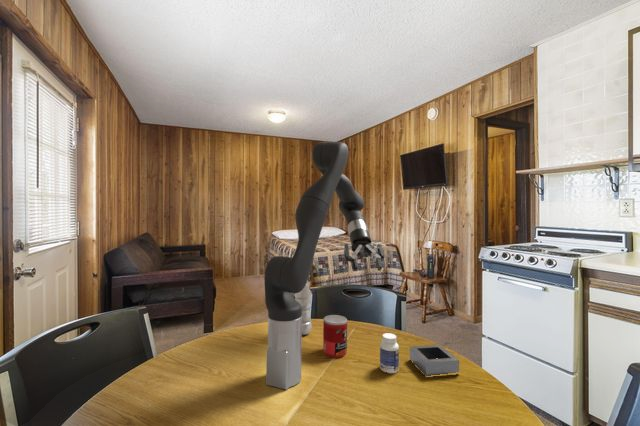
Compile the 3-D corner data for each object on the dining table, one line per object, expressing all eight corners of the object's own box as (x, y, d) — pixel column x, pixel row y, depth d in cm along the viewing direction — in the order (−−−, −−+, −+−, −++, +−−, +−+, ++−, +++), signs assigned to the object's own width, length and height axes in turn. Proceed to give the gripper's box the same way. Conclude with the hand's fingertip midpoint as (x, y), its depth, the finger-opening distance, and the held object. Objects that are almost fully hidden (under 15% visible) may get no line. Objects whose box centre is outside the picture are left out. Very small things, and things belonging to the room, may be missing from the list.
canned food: (338, 360, 91) (339, 325, 91) (318, 353, 96) (318, 319, 96) (351, 351, 98) (351, 318, 98) (331, 345, 102) (332, 313, 102)
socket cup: (459, 376, 84) (459, 360, 84) (426, 378, 82) (426, 362, 82) (439, 358, 94) (439, 344, 94) (409, 361, 92) (409, 346, 92)
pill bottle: (399, 375, 84) (399, 340, 84) (379, 372, 85) (380, 338, 85) (398, 365, 89) (398, 333, 89) (379, 363, 90) (380, 331, 90)
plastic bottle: (290, 334, 110) (291, 281, 111) (300, 328, 116) (300, 277, 117) (305, 338, 107) (306, 283, 108) (314, 332, 113) (315, 279, 114)
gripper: (342, 227, 109) (350, 263, 98) (379, 227, 112) (391, 263, 100) (339, 240, 115) (346, 276, 103) (374, 240, 117) (385, 275, 106)
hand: (368, 269), depth 102 cm, fingers open, 8 cm apart
